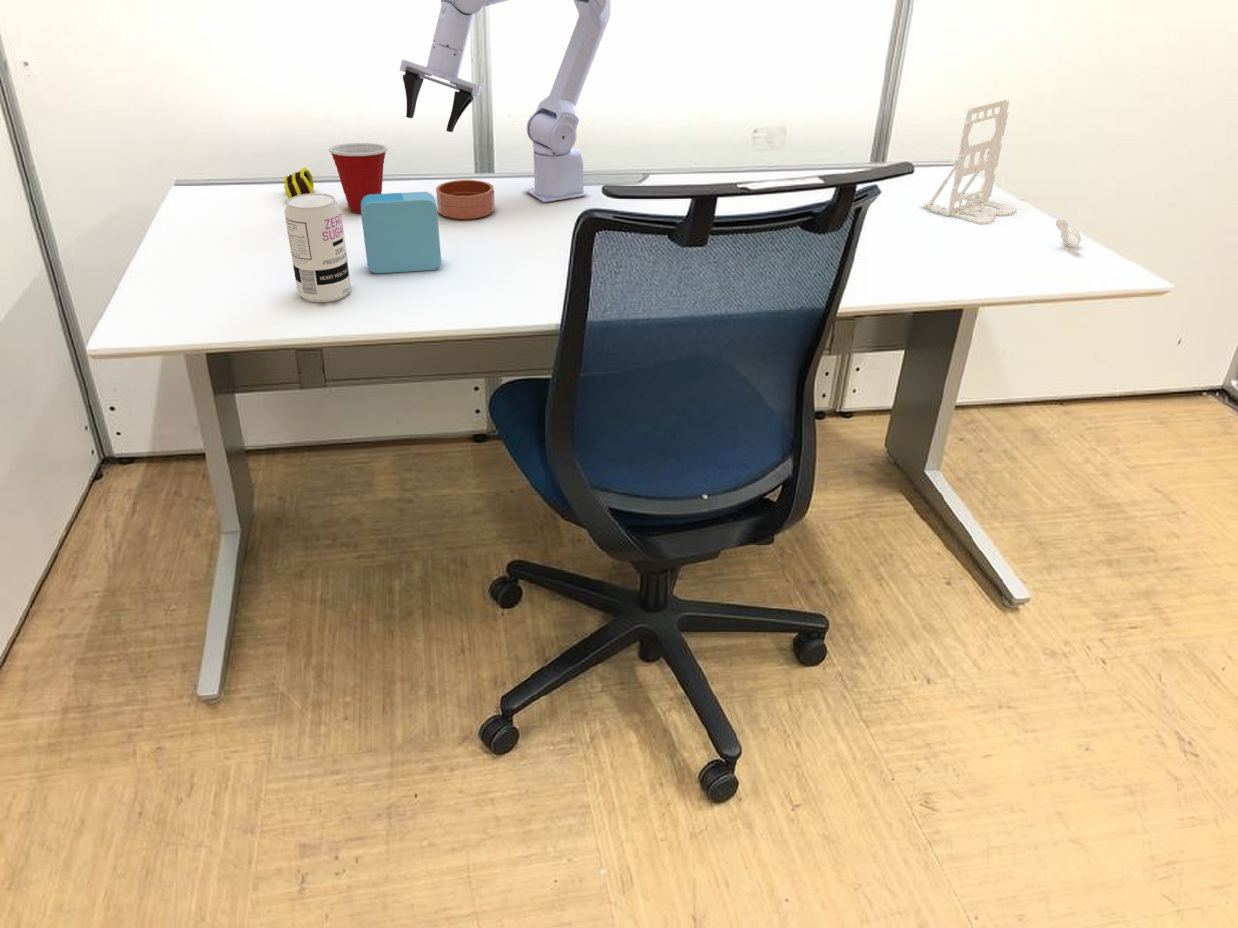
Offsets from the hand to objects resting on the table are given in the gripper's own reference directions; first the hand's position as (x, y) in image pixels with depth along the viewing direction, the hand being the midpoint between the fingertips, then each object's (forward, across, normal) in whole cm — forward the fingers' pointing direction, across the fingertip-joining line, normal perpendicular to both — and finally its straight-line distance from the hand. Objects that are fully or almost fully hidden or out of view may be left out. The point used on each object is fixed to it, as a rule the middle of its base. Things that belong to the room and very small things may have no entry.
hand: (429, 124), depth 183 cm
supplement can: (+27, -1, -35) cm, 44 cm away
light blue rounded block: (+22, +8, -22) cm, 32 cm away
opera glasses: (+22, -24, +11) cm, 35 cm away
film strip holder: (-16, +103, +21) cm, 106 cm away
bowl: (+14, +9, +7) cm, 18 cm away
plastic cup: (+20, -10, +6) cm, 23 cm away
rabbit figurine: (-16, +116, +1) cm, 117 cm away
